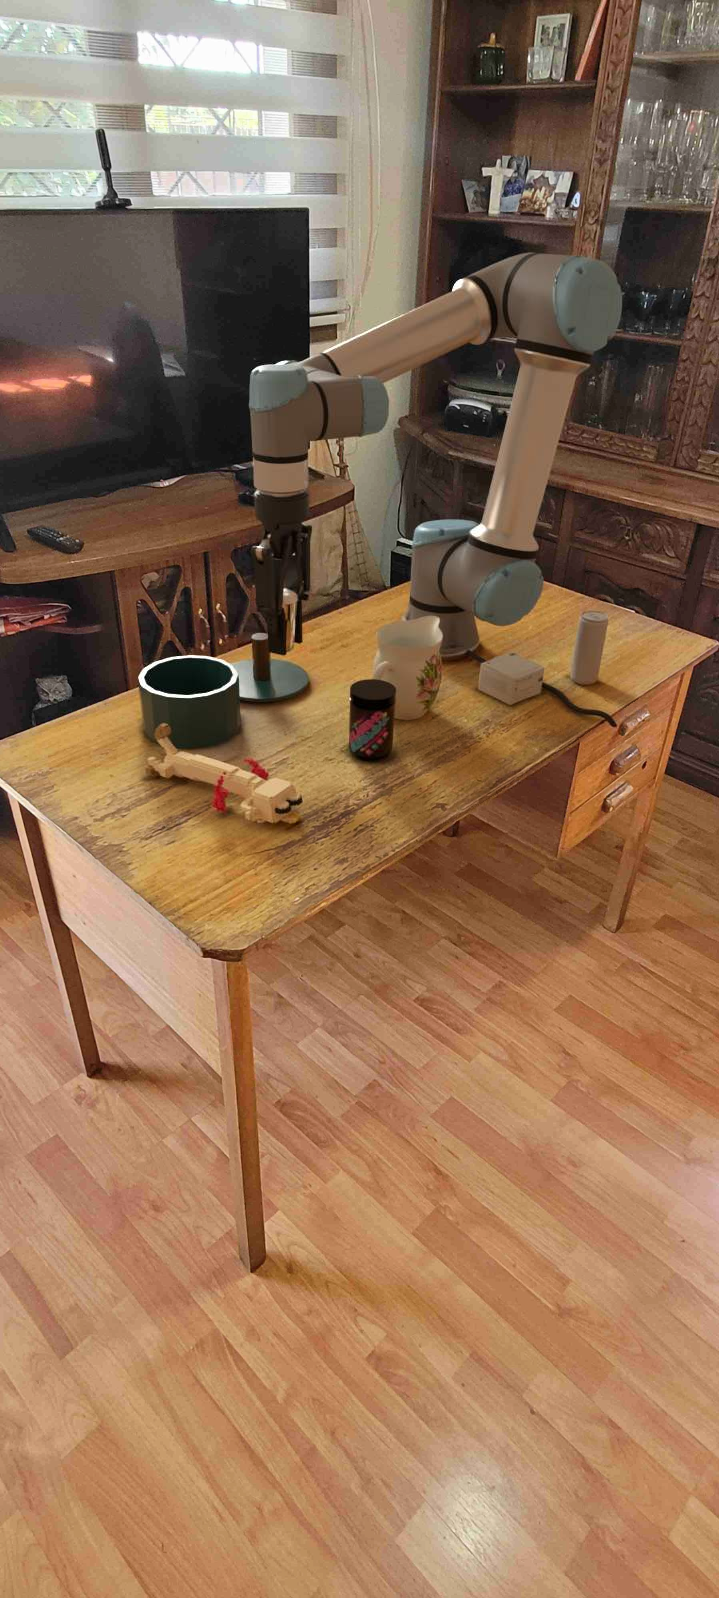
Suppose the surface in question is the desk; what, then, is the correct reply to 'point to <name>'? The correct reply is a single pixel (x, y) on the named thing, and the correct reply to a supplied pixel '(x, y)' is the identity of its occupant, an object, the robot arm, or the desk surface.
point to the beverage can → (588, 647)
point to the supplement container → (371, 719)
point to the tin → (191, 700)
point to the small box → (510, 678)
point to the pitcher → (410, 663)
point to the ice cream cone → (290, 616)
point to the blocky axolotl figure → (230, 782)
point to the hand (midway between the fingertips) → (285, 646)
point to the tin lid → (268, 675)
